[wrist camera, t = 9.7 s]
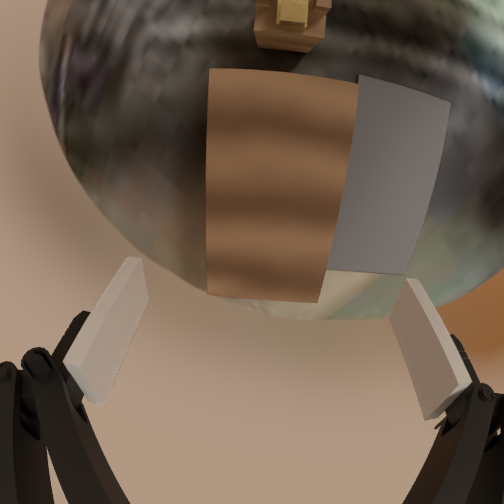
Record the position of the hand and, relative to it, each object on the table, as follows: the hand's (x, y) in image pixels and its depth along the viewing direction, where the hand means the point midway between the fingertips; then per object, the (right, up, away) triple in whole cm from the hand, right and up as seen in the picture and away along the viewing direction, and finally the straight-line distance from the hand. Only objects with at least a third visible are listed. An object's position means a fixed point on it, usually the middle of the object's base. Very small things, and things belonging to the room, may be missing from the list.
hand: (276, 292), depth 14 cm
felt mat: (+15, +10, +17) cm, 25 cm away
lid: (+1, +8, +12) cm, 14 cm away
